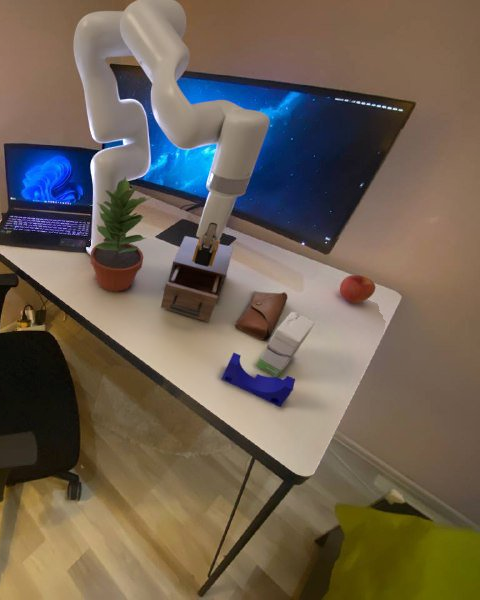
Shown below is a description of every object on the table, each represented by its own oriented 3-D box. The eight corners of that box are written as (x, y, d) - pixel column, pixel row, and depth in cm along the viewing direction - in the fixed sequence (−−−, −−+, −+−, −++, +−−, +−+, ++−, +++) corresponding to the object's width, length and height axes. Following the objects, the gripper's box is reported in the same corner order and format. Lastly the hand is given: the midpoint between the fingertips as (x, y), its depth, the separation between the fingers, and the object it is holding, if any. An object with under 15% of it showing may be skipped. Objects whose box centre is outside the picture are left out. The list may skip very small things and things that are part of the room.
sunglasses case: (253, 289, 97) (273, 278, 92) (270, 307, 97) (292, 297, 92) (233, 326, 86) (255, 315, 81) (252, 347, 86) (276, 337, 81)
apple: (368, 300, 96) (385, 277, 90) (359, 312, 92) (376, 288, 87) (339, 287, 100) (354, 264, 95) (329, 298, 96) (344, 275, 91)
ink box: (277, 378, 75) (300, 342, 68) (255, 365, 78) (275, 329, 70) (292, 357, 80) (316, 321, 72) (271, 346, 82) (292, 309, 75)
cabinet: (215, 303, 94) (226, 275, 87) (166, 289, 98) (173, 261, 92) (223, 274, 104) (233, 247, 97) (178, 262, 108) (185, 235, 102)
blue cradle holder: (284, 391, 73) (296, 373, 69) (280, 407, 70) (292, 389, 66) (227, 365, 78) (235, 347, 74) (221, 379, 75) (229, 361, 71)
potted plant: (109, 259, 109) (118, 162, 89) (149, 280, 101) (168, 179, 81) (76, 279, 101) (77, 178, 81) (116, 304, 93) (128, 198, 73)
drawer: (205, 334, 84) (214, 311, 78) (155, 319, 87) (160, 295, 82) (216, 291, 96) (225, 268, 91) (172, 279, 100) (178, 256, 95)
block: (195, 251, 82) (200, 235, 79) (215, 256, 81) (220, 240, 78) (191, 261, 79) (196, 244, 76) (211, 266, 78) (217, 249, 75)
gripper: (215, 164, 75) (194, 237, 87) (199, 194, 63) (178, 273, 76) (251, 170, 73) (225, 244, 85) (242, 203, 61) (213, 283, 73)
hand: (203, 257), depth 80 cm, fingers closed on block, 4 cm apart
